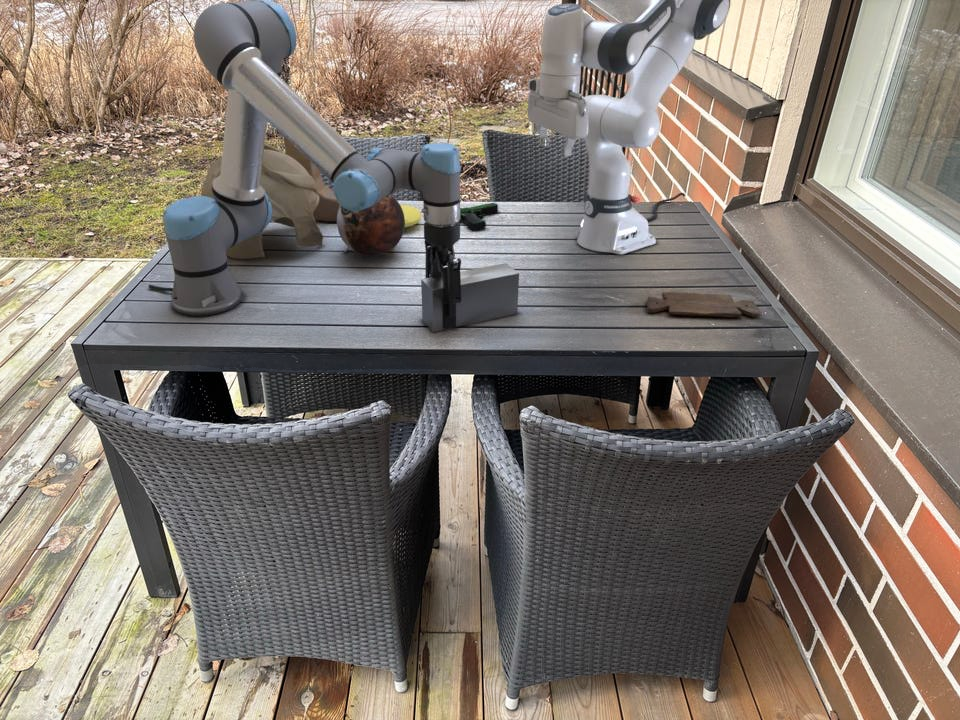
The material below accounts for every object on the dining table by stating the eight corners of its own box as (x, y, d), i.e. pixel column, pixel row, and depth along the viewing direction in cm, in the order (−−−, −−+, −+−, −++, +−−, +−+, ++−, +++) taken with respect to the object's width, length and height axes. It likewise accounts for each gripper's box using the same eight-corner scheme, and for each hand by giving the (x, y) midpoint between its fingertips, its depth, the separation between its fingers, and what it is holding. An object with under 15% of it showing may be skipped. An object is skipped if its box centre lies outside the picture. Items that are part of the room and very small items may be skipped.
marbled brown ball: (330, 217, 201) (372, 164, 193) (380, 258, 206) (423, 208, 197) (307, 245, 182) (352, 187, 173) (363, 289, 186) (409, 234, 178)
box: (504, 302, 168) (505, 263, 163) (517, 313, 163) (519, 273, 158) (422, 320, 160) (421, 279, 155) (433, 332, 155) (432, 290, 150)
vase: (376, 214, 219) (375, 191, 216) (426, 217, 218) (426, 194, 214) (362, 232, 206) (360, 208, 202) (415, 235, 204) (415, 212, 201)
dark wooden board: (642, 297, 172) (648, 316, 163) (643, 291, 171) (649, 310, 162) (751, 300, 171) (762, 319, 162) (752, 293, 170) (764, 313, 161)
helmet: (337, 253, 194) (330, 140, 179) (228, 274, 179) (210, 153, 164) (298, 224, 213) (288, 120, 198) (196, 241, 198) (178, 130, 183)
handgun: (467, 223, 206) (446, 206, 217) (467, 232, 208) (445, 215, 219) (516, 216, 213) (492, 199, 224) (515, 225, 214) (492, 209, 226)
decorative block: (341, 222, 212) (332, 118, 197) (293, 219, 214) (280, 116, 199) (348, 214, 219) (340, 113, 204) (301, 211, 221) (289, 110, 205)
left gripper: (407, 209, 153) (411, 306, 165) (444, 239, 138) (445, 343, 150) (439, 205, 156) (441, 300, 168) (479, 234, 141) (477, 336, 153)
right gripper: (598, 94, 150) (592, 160, 157) (547, 78, 165) (544, 139, 173) (573, 96, 147) (568, 163, 154) (524, 80, 163) (521, 141, 170)
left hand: (443, 320), depth 159 cm, fingers closed on box, 6 cm apart
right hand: (555, 150), depth 164 cm, fingers open, 8 cm apart
